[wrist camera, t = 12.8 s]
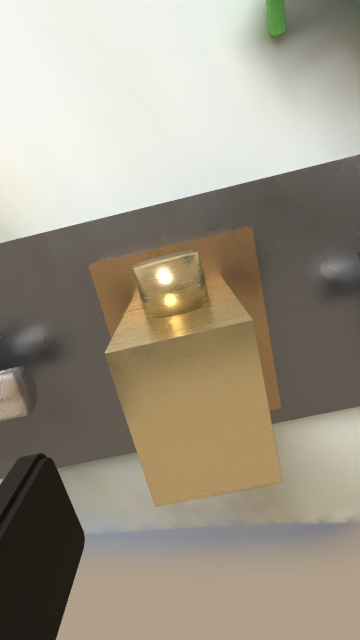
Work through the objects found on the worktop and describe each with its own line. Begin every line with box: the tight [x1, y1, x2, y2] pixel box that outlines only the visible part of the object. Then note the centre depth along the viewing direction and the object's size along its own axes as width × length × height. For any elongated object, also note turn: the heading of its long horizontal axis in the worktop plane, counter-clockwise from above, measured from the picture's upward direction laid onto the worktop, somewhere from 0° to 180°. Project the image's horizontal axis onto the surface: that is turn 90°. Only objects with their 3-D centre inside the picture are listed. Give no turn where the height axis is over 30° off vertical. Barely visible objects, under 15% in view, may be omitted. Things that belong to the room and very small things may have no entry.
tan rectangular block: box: [104, 250, 282, 507], centre depth 14 cm, size 4×10×7 cm, turn 13°
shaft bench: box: [0, 155, 360, 479], centre depth 17 cm, size 30×14×6 cm, turn 103°
